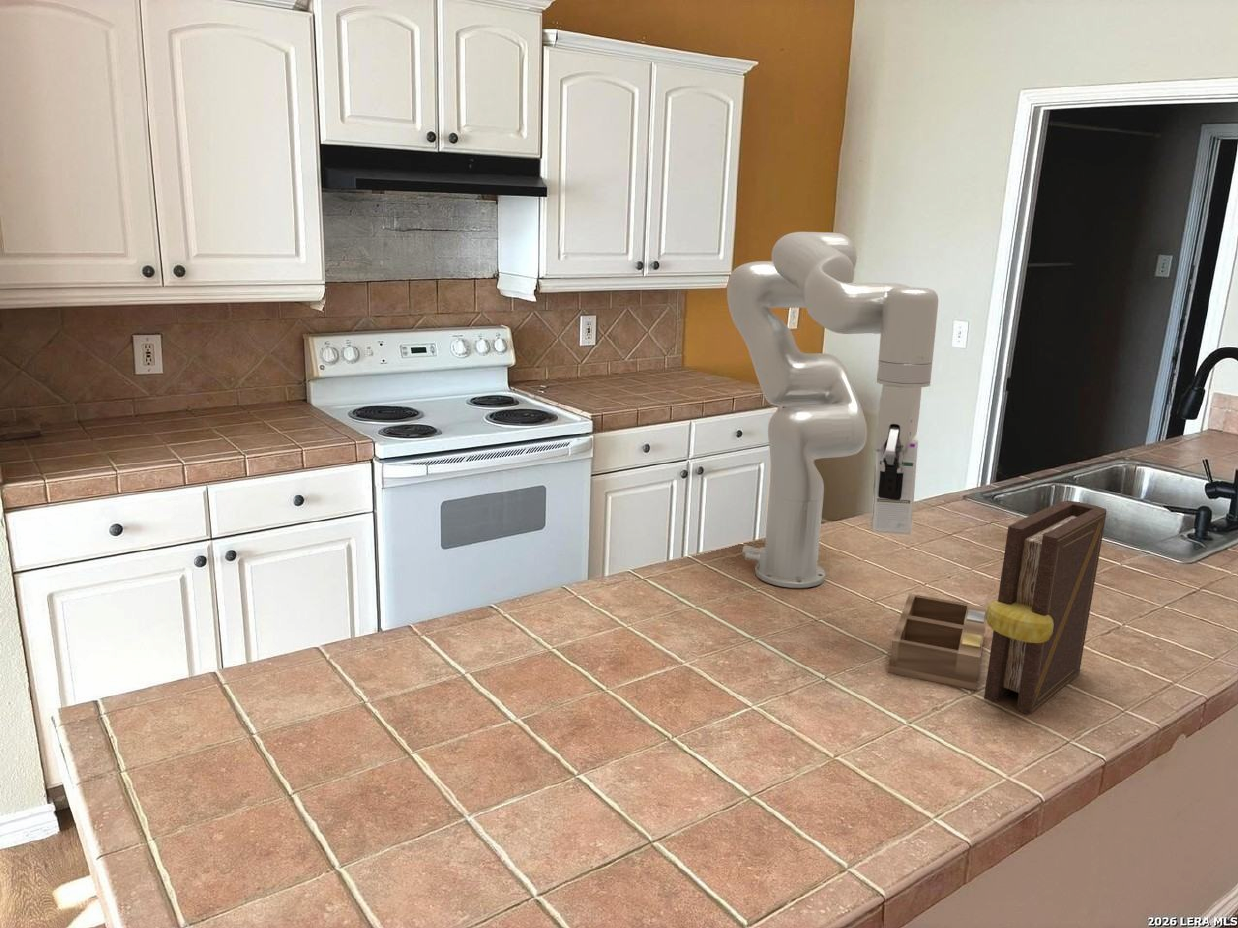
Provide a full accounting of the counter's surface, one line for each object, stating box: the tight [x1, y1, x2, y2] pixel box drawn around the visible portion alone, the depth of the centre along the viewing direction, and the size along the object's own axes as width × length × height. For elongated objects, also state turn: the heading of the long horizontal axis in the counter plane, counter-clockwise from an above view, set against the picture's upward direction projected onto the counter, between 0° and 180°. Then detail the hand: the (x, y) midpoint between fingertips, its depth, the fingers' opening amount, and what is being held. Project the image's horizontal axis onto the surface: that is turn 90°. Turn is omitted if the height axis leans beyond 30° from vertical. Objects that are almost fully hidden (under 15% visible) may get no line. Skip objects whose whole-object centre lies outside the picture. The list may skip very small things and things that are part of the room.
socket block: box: [888, 593, 989, 691], centre depth 143 cm, size 20×12×5 cm, turn 157°
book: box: [983, 500, 1108, 716], centre depth 131 cm, size 22×8×25 cm, turn 134°
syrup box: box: [870, 433, 919, 536], centre depth 142 cm, size 6×6×14 cm
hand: (893, 491), depth 142 cm, fingers closed on syrup box, 6 cm apart
